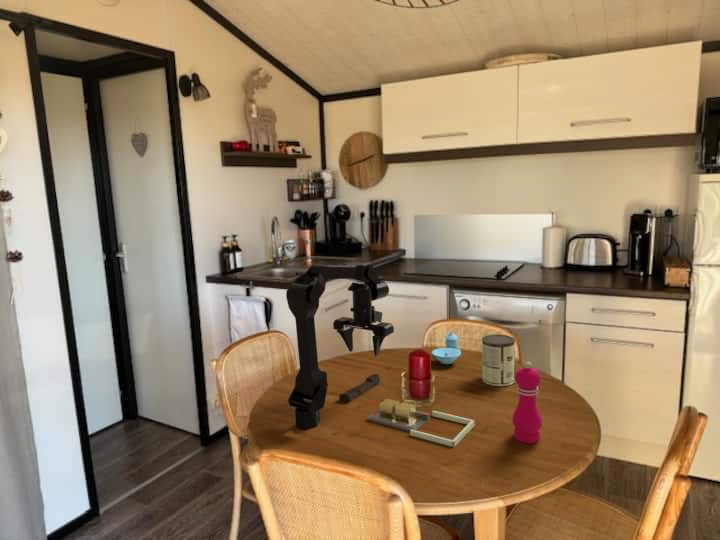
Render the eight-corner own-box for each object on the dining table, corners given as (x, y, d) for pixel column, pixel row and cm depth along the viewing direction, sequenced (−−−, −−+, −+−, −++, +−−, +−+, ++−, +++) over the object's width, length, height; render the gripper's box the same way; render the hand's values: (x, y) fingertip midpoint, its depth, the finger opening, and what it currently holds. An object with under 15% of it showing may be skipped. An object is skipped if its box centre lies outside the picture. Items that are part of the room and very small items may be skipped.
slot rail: (413, 436, 133) (413, 428, 133) (368, 424, 141) (367, 416, 141) (430, 421, 141) (430, 413, 141) (386, 410, 149) (386, 402, 149)
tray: (454, 451, 125) (453, 441, 125) (410, 439, 132) (410, 430, 132) (474, 429, 136) (474, 420, 136) (433, 419, 143) (433, 410, 142)
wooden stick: (348, 408, 152) (348, 393, 152) (338, 404, 155) (338, 390, 154) (386, 387, 167) (386, 373, 166) (376, 384, 169) (376, 371, 169)
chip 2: (408, 425, 137) (408, 410, 137) (395, 421, 139) (395, 407, 139) (415, 419, 140) (415, 405, 140) (402, 415, 143) (402, 402, 142)
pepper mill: (538, 447, 126) (539, 369, 123) (508, 440, 130) (509, 364, 126) (544, 434, 132) (546, 359, 129) (516, 428, 136) (517, 355, 132)
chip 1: (392, 420, 140) (392, 407, 139) (379, 417, 142) (379, 404, 142) (399, 415, 143) (399, 401, 143) (387, 412, 145) (387, 398, 145)
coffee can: (487, 372, 175) (487, 332, 173) (518, 377, 170) (518, 336, 167) (477, 383, 167) (477, 341, 164) (509, 388, 161) (509, 345, 159)
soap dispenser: (457, 370, 178) (457, 345, 177) (428, 367, 182) (427, 343, 181) (467, 354, 195) (467, 331, 193) (440, 351, 199) (439, 329, 197)
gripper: (402, 301, 157) (403, 350, 159) (351, 296, 167) (353, 342, 169) (383, 309, 148) (384, 361, 150) (331, 302, 158) (333, 351, 160)
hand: (363, 353), depth 158 cm, fingers open, 9 cm apart
